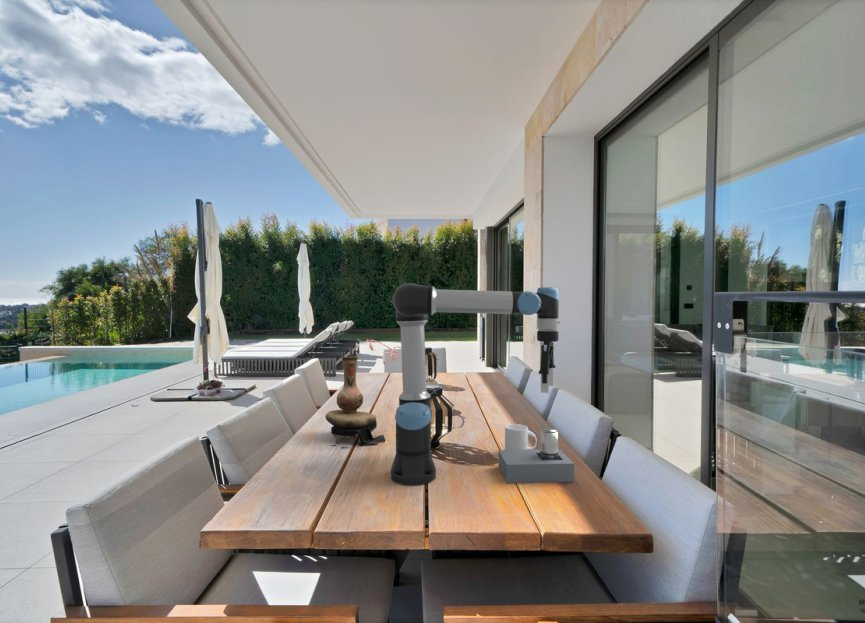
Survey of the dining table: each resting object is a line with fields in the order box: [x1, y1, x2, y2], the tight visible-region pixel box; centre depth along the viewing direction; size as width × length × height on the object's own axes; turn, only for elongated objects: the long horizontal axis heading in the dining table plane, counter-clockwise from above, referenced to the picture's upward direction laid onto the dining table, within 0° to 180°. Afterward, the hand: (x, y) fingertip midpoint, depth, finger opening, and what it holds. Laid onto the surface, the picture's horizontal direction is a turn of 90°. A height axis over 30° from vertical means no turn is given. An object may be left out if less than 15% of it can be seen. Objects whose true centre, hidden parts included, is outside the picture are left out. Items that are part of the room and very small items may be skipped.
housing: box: [497, 448, 575, 484], centre depth 149 cm, size 22×14×6 cm, turn 93°
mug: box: [504, 423, 538, 450], centre depth 168 cm, size 9×12×11 cm
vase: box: [324, 356, 386, 449], centre depth 188 cm, size 24×22×35 cm
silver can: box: [539, 427, 559, 460], centre depth 150 cm, size 6×6×13 cm
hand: (547, 389), depth 160 cm, fingers open, 13 cm apart
